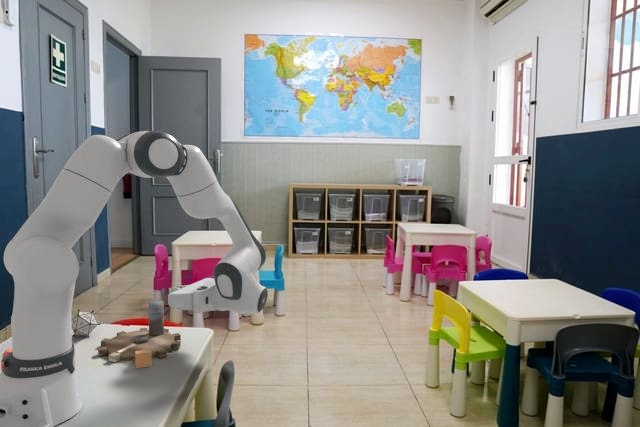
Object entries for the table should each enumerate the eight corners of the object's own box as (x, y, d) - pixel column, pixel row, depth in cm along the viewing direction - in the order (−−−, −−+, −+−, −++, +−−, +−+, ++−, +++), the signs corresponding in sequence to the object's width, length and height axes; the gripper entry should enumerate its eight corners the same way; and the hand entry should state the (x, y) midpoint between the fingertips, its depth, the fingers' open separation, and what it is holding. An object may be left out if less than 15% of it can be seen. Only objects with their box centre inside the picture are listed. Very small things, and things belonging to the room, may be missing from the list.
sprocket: (145, 368, 124) (145, 326, 123) (79, 354, 131) (78, 314, 130) (195, 338, 145) (195, 302, 144) (137, 328, 153) (136, 294, 151)
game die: (90, 345, 148) (111, 318, 150) (75, 345, 140) (96, 317, 142) (71, 328, 150) (91, 302, 152) (54, 328, 142) (76, 300, 144)
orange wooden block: (135, 368, 124) (135, 353, 124) (135, 365, 126) (135, 351, 126) (151, 366, 126) (151, 351, 125) (151, 363, 128) (150, 349, 127)
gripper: (232, 275, 145) (194, 271, 150) (194, 293, 126) (152, 287, 130) (232, 295, 146) (195, 290, 150) (194, 315, 127) (152, 309, 131)
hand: (174, 289), depth 140 cm, fingers closed
